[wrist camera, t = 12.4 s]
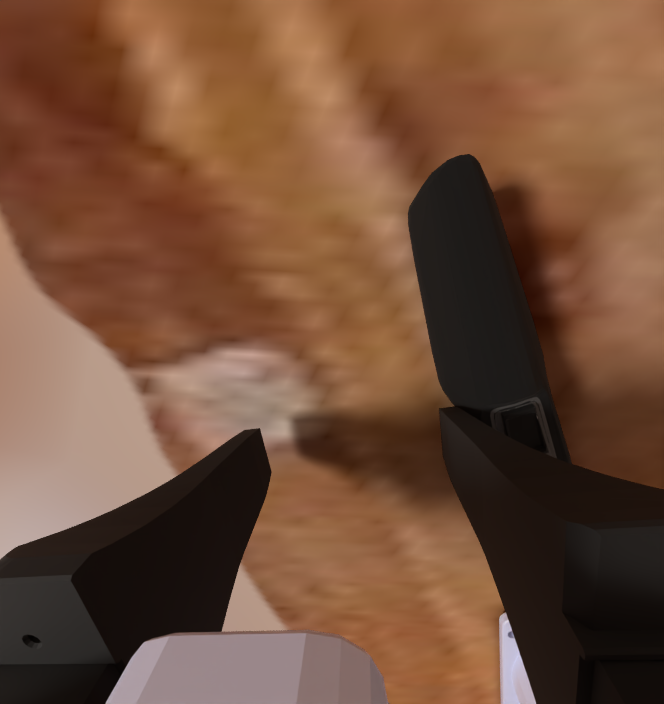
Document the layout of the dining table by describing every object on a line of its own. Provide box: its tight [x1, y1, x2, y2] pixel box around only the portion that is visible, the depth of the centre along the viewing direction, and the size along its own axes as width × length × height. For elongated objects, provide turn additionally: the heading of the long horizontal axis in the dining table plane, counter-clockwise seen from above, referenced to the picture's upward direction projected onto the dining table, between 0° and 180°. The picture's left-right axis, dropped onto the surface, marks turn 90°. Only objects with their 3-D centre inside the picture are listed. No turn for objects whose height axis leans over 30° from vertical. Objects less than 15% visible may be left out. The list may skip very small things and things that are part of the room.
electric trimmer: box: [408, 154, 572, 464], centre depth 11 cm, size 4×16×3 cm, turn 21°
